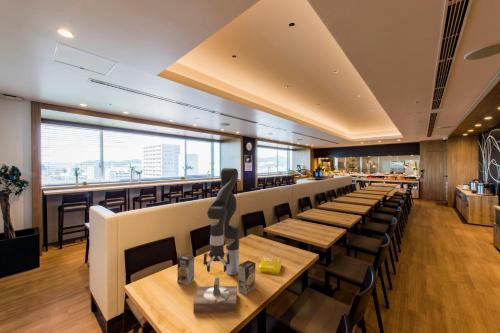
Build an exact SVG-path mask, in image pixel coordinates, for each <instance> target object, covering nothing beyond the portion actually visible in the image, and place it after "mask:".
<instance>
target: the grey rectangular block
mask: <svg viewBox="0 0 500 333" xmlns="http://www.w3.org/2000/svg"><path fill="white" fill-rule="evenodd" d="M213 282H214V283H213V286H214V290H213V295H215V298H214V301H216V297H217V295H219V294H220V289H219V286H220V277H215V279H214V281H213Z"/></svg>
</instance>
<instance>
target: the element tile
mask: <svg viewBox="0 0 500 333" xmlns="http://www.w3.org/2000/svg"><path fill="white" fill-rule="evenodd" d="M281 266H282V260H281V259H278V258H277V259H275V258H270V257H269V258H267V257H262V259H261V260H260V263H259V265H258V272H259V271H260V273H263V272H264V273H265V274H269V273H273V274H272V275H276V274H278V275H280V274H279V273H281V271H280V270H282V267H281ZM264 273H263V274H264Z"/></svg>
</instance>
